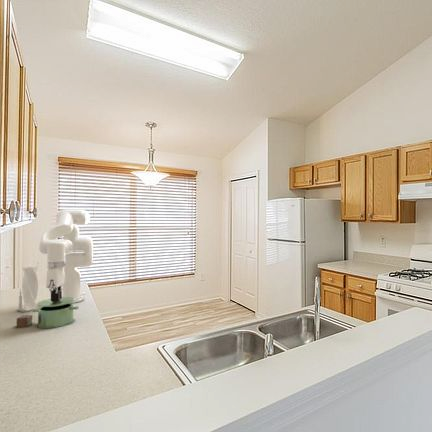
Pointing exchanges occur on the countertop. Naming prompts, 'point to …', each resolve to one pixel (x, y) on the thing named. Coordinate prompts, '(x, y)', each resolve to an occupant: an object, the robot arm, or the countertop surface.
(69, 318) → the pot
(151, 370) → the countertop surface
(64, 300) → the pot lid
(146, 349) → the countertop surface
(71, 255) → the robot arm
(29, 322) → the block
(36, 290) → the skyscraper
